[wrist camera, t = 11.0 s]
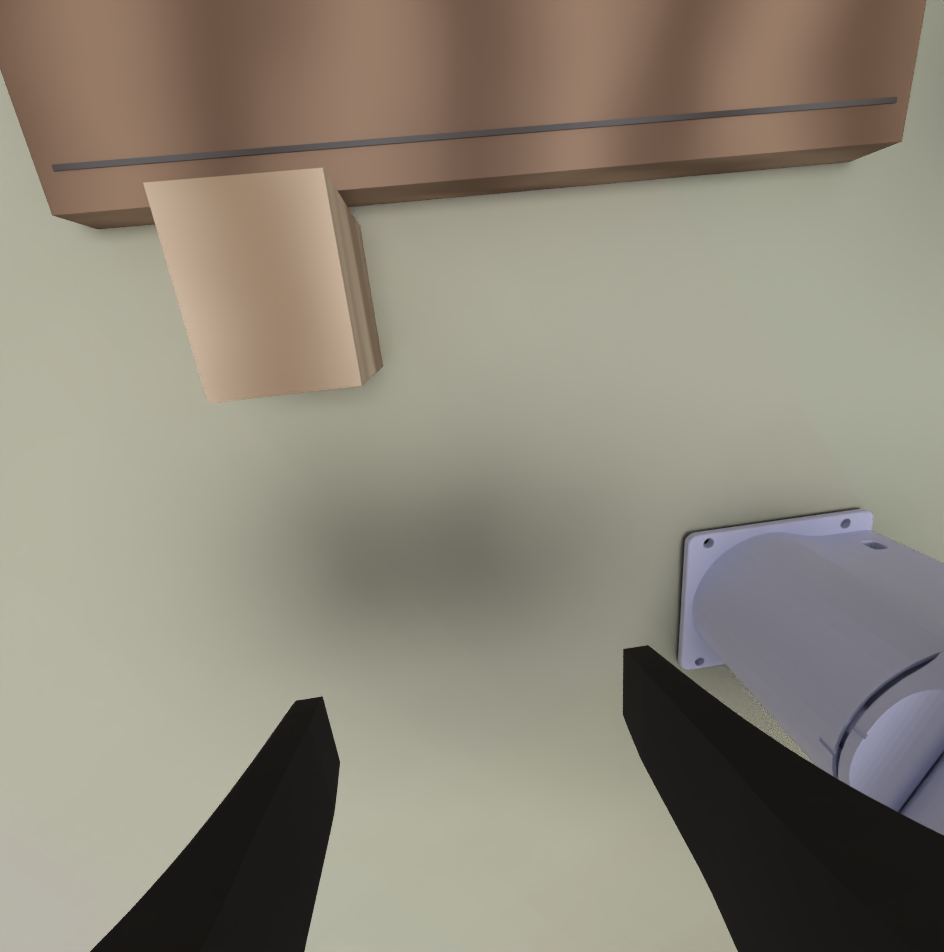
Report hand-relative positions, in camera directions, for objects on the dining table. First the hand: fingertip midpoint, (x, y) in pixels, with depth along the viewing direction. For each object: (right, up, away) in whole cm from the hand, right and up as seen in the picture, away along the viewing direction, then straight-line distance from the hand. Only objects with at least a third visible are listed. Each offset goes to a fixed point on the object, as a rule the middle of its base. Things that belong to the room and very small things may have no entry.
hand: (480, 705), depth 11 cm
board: (0, +19, +5) cm, 20 cm away
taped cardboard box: (-6, +12, +6) cm, 15 cm away
